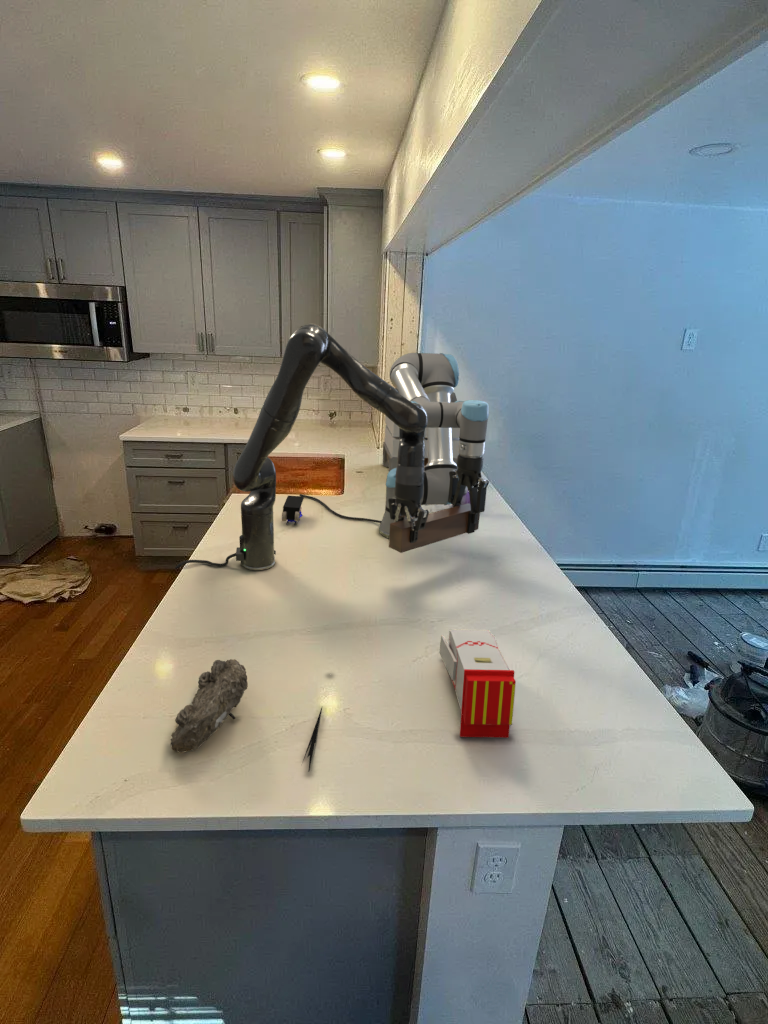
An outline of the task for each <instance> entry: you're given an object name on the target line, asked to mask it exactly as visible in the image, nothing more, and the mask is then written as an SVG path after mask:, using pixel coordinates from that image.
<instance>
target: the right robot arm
mask: <svg viewBox="0 0 768 1024" xmlns="http://www.w3.org/2000/svg"><path fill="white" fill-rule="evenodd" d="M389 381H390V382H391V384H392V387H394V388H396V389H398V391H399V393H400V394H401V395H402V396H403V397H405V398H406V399H407V400H409V401H410V402H412V403H417V404H420V405H421V406H422V407H423V408H424V409H425V412H426V414H427V418H428V423H427V426H426V428H427V439H428V463H427V465H426V466H424V485H423V497H422V498H421V500H420V504H421V506H436V505H438V506H441V505H443V506H447V505H452V506H453V507H456V506H459V505H461V501H462V497H463V494H464V491H465V488H466V486H467V488H468V491H469V496H470V506H471V512H469V515H468V525H467V533H466V534H468V535H470V534H473V533H475V531H476V530H475V523H477V521H478V513H480V514H481V513H484V512H485V510H486V501H487V490H488V489H487V488H488V486H489V484H490V481H489V480H488V479H484V478H483V477H482V470H483V467H484V455H485V451H486V438H487V428H488V420H489V416H490V414H489V413H490V412H489V403H488V402H486V401H483V400H479V399H478V400H477V399H468V400H457V401H456V402H450V395H451V394H452V392H455V388H456V387H458V386H459V382H460V367H459V364H458V361H457V359H456V357H455V356H454V355H452V354H449V353H443V352H439V353H434V352H433V353H432V352H431V353H430V352H409V353H405V354H403V355H401V356H399V357H398V358H396V359H395V360H394V362H393V363H392V364H391V367H390V369H389ZM451 428H460V436H459V447H458V453H459V455H458V457H457V465H456V464H455V463H454V462H453V454H452V431H451ZM457 467H458V468H457ZM395 480H396V468H394V469H392V470H390V471H389V470H388V473H387V475H386V480H385V481H386V482H385V504H384V505H385V507H384V508H385V509H384V513H383V515H382V519H381V520H379V519H373V518H366V517H357V516H356V517H355V516H348V515H343V514H340V513H338V512H336V511H335V510H333V509H331V508H330V507H329V506H328V505H327V504H326V503H324V501H322V500H320V499H318V498H316V497H314V496H310V495H307V494H301V493H299V496H302V497H304V498H307V499H310V500H314V501H316V502H318V503H320V504H321V505H322V506H323V507H325V509H326V510H327V511H329V512H330V513H332V514H334V515H335V516H337V517H339V518H342V519H346V520H353V521H365V522H371V523H377V524H379V525H378V533H379V534H380V535H381V536H382V537H385V538H387V539H389V534H390V523H394V520H393V519H391V518H390V511H389V502H388V499H389V498H394V497H396V496H395ZM452 506H451V507H452ZM394 514H395V510H394ZM414 517H415V516H414ZM411 518H413V517H411ZM406 519H407V517H406V516H405V518H404V520H406Z"/></svg>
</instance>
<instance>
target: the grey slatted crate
mask: <svg viewBox="0 0 768 1024" xmlns="http://www.w3.org/2000/svg"><path fill="white" fill-rule="evenodd" d="M394 388H395V387H394ZM395 389H396V388H395ZM396 390H397V391H398V389H396ZM398 392H399V391H398ZM456 401H458V398H457V395H456V392H455V391H453V392H452V394H451V395H450V402H456ZM384 424H385V425H384V426H385V427H384V440H383V441H382V442H383V443H382V463H381V464H382V465H383V467H386V468H388V472H389V471H390V470H392V469H394V468H397V460H398V448H399V427H398V426H397V425H396V424H395V423H394V422H392V421H391V420H390V419H389V418H388V417H387V416H386V415H385V416H384ZM451 431H452V454H453V462H454V463H455V464H456V465H457V457H458V455H459V453H458V447H459V436H460V428H451ZM424 447H425V456H424V467H425V466H426V465H427V463H428V439H427V428H425V433H424ZM457 468H458V467H457Z"/></svg>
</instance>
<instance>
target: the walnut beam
mask: <svg viewBox="0 0 768 1024" xmlns="http://www.w3.org/2000/svg"><path fill="white" fill-rule="evenodd" d="M469 512H471V506H470V504H469V503H467V504H463V505H459V506H456V507H452V506H451V507H449V508H445V509H441V510H436V511H432V512H429V514H428V518H427V521H426V525H425V528H424V529H421V530H418V540H417V541H416V542H415V543H410V542H409V540H410V530H411V529H410V523H409V522H408V520H407V519H406V520H402V521H398V522H394V523H390V534H389V538H388V548H390V549H392V550H394V551H396V552H397V553H400V554H402V553H406V552H409V551H413V550H415V549H418V548H422V547H425V546H428V545H431V544H434V543H438V542H442V541H444V540H448V539H451V538H454V537H457V536H461V535H464V534H468V533H467V525H468V515H469ZM480 516H481V513H478V521H477V523H475V531H477V530H479V528H480V527H479V526H480ZM413 518H415V517H413ZM413 518H412V519H413ZM414 526H415V521H414Z"/></svg>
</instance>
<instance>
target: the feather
mask: <svg viewBox="0 0 768 1024" xmlns="http://www.w3.org/2000/svg"><path fill="white" fill-rule="evenodd" d="M329 675H330V676H331V675H332V674H331V673H330V674H329ZM322 710H323V707H321V708H320V710H319V713H318V716H317V719H316V723H315V725H314V728H313V731H312V733H311V737H310V739H309V742H308V745H307V748H306V751H305V754H304V757H303V760H302V763H301V767H302V765H303V763H304V761H305V758H308V759H309V760H308V762H307V763H308V764H307V766H308V771H310V770H311V766H312V765H311V764H312V760H313V757H315V756H314V755H315V751H316V749H315V746H317V739H318V733H319V729H320V722H321V717H322V712H323V711H322ZM313 754H314V755H313ZM306 755H307V757H306Z"/></svg>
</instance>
